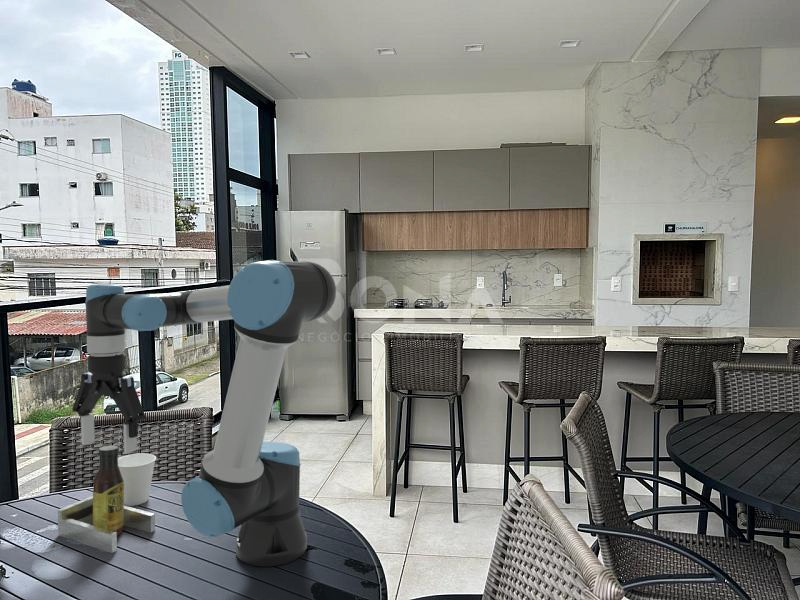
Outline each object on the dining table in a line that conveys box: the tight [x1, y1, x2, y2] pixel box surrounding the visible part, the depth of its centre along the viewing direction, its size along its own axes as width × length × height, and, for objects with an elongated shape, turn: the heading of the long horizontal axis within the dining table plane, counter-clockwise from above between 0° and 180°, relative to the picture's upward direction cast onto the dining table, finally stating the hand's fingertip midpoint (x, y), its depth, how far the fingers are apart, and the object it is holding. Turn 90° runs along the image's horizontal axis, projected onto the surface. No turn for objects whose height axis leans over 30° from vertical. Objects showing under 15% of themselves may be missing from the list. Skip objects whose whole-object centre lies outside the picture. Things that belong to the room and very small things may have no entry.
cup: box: [118, 452, 157, 507], centre depth 146 cm, size 10×10×11 cm
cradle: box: [57, 495, 156, 554], centre depth 129 cm, size 17×11×6 cm, turn 66°
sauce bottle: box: [92, 444, 125, 536], centre depth 129 cm, size 6×6×20 cm
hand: (109, 447), depth 128 cm, fingers open, 13 cm apart
